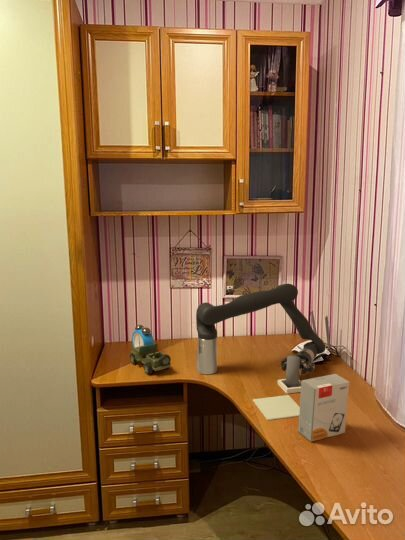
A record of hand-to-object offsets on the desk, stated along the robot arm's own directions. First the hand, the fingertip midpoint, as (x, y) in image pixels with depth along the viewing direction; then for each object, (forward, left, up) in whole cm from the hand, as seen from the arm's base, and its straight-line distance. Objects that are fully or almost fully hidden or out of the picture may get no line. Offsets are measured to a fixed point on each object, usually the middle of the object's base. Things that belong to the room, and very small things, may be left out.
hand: (292, 370), depth 184 cm
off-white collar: (0, 0, -8) cm, 8 cm away
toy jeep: (-58, +37, -8) cm, 69 cm away
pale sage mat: (-13, -15, -8) cm, 21 cm away
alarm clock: (-60, +56, -8) cm, 82 cm away
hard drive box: (-5, -35, -8) cm, 36 cm away
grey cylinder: (0, 0, -8) cm, 8 cm away
